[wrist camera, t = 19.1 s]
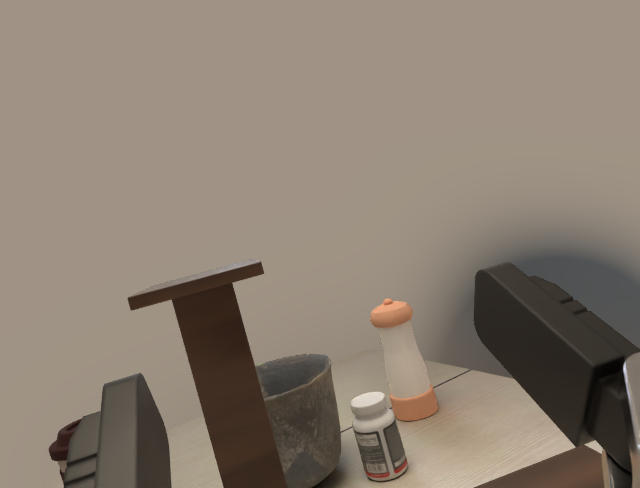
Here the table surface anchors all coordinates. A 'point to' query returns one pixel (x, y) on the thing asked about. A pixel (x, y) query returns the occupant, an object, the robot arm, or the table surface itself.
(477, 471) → the table surface
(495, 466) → the table surface
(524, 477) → the headphone stand
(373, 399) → the pill bottle
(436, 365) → the table surface
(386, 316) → the pepper shaker
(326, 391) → the bowl
